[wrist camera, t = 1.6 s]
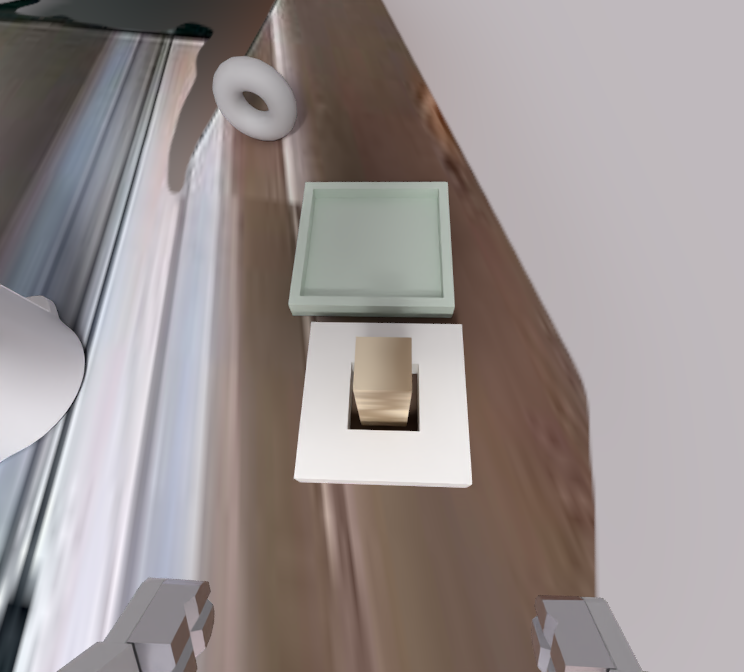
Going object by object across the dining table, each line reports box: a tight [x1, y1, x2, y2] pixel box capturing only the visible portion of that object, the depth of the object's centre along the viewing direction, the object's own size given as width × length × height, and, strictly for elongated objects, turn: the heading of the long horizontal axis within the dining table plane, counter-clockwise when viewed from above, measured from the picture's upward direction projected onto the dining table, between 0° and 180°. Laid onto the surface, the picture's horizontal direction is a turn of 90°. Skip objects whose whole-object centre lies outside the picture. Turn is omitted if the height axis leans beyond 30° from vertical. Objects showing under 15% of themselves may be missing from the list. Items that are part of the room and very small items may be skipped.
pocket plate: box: [294, 322, 472, 488], centre depth 37 cm, size 14×14×2 cm
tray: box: [288, 182, 455, 318], centre depth 45 cm, size 16×16×2 cm
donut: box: [213, 56, 297, 141], centre depth 49 cm, size 10×3×10 cm, turn 77°
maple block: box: [353, 337, 412, 426], centre depth 34 cm, size 4×4×10 cm
